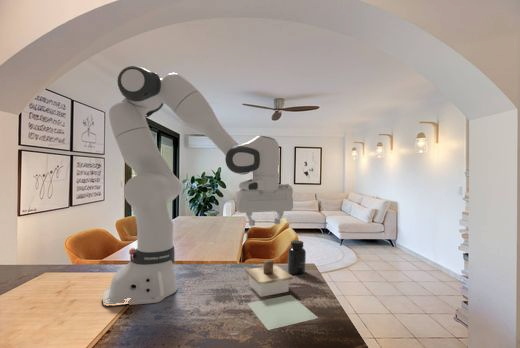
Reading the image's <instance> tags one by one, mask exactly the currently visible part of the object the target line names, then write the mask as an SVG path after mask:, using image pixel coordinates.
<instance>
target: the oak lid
mask: <svg viewBox="0 0 520 348" xmlns="http://www.w3.org/2000/svg"><path fill="white" fill-rule="evenodd" d="M244 271H245V273H246V274H247V275H248V277H249V276H250V277H251V278H252V279H253V280H254V281H255V282H256V283H257V284H258V285H262V284H268V283H274V282H280V281H286V280H289V281H290V280H293V279H294V276H293V275H292V274H291V273H289V272H288V271H286V270H284V269H282V268H281V267H279V265H276V264H275V265H274V260H272V259H265V260H263V266H261V267H255V268H254V267H253V268H247V269H245V270H244Z"/></svg>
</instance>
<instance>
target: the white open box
mask: <svg viewBox="0 0 520 348" xmlns="http://www.w3.org/2000/svg"><path fill="white" fill-rule="evenodd" d="M289 282H290V280H286V281H280V282H274V283H268V284H262V285H258V284H257V283H256V282H255V281H254V280H253V279H252V278H251V277H250V276H249V275H248V285H249V287H250V288H251V289H253V291H254V292H255V293H256V294H257V295H258V296H259V297H260V298H262V297H266V296H272V295H278V294H283V293H287V292H289V287H290V285H289Z"/></svg>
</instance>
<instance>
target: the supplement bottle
mask: <svg viewBox="0 0 520 348" xmlns="http://www.w3.org/2000/svg"><path fill="white" fill-rule="evenodd" d="M306 255H307V253H306V250H305V248H304V241H303V240H291V241H290V247H289V249H288V250H287V273H288V274H290V275H294V276H295V275H296V276H301V275H304V274H305V273H306Z"/></svg>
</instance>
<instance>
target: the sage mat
mask: <svg viewBox="0 0 520 348" xmlns="http://www.w3.org/2000/svg"><path fill="white" fill-rule="evenodd" d="M246 304H247V306H248V307H249V309H251V310H252V312H253V313H254V314H255V316H256V317H257V318H258V319H259V321H260V322H261V323H262V325H263V326H264V327H265V328H266V330H268V331H270V330H275V329H278V328H283V327H288V326H291V325H295V324H299V323H304V322H308V321H313V320H316V319H319V317H318V316H317V315H316V314H315V313H313V312H312V311H311V310H309V308H307V307H306V306H305V305H304V304H302V303H301V302H300V301H299V300H298V299H297V298H295V296H293V295H292V294H289V295H283V296H279V297H273V298H268V299H263V300H258V301H252V302H246Z"/></svg>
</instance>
